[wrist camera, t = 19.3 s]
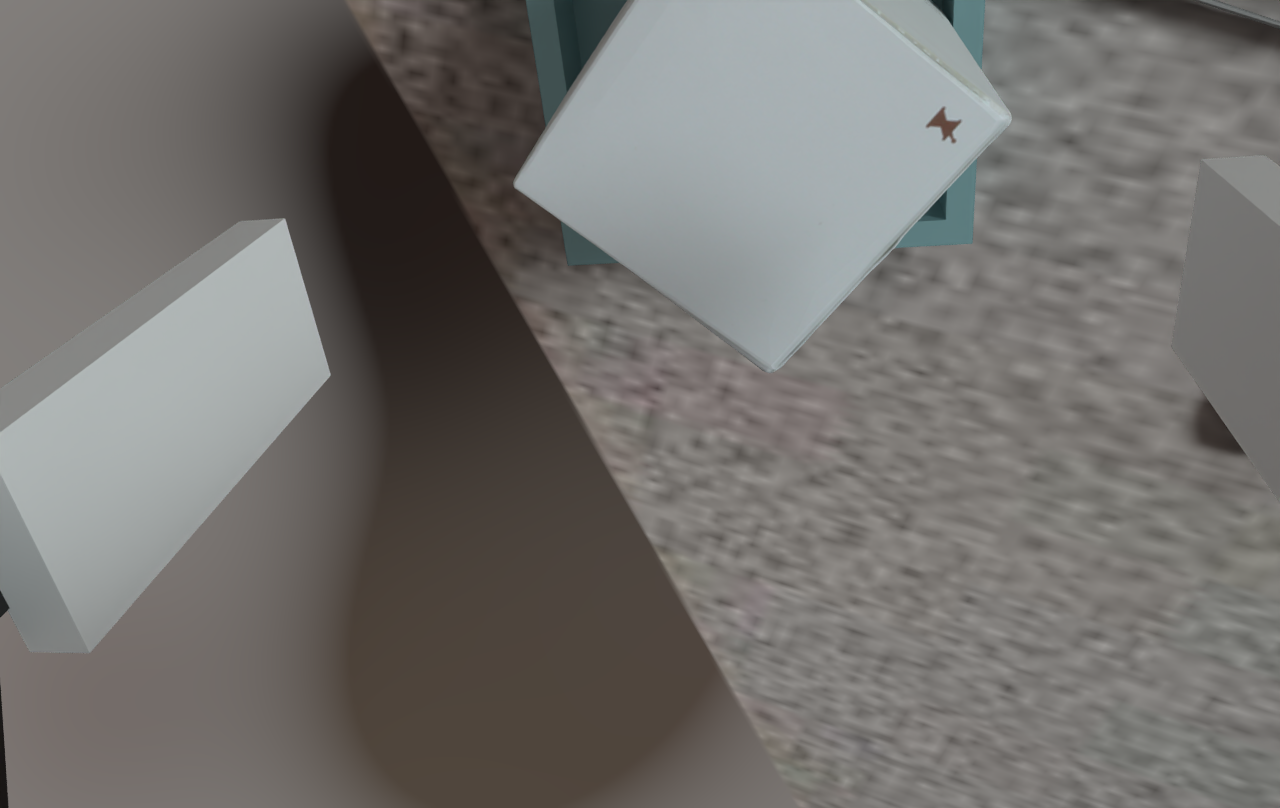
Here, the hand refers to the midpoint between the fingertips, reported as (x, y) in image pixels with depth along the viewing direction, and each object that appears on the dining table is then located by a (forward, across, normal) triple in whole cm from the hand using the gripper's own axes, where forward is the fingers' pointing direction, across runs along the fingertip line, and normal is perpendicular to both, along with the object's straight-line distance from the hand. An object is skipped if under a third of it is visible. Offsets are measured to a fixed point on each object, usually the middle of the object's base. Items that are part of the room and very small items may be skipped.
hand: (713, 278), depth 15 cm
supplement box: (+19, 0, 0) cm, 19 cm away
